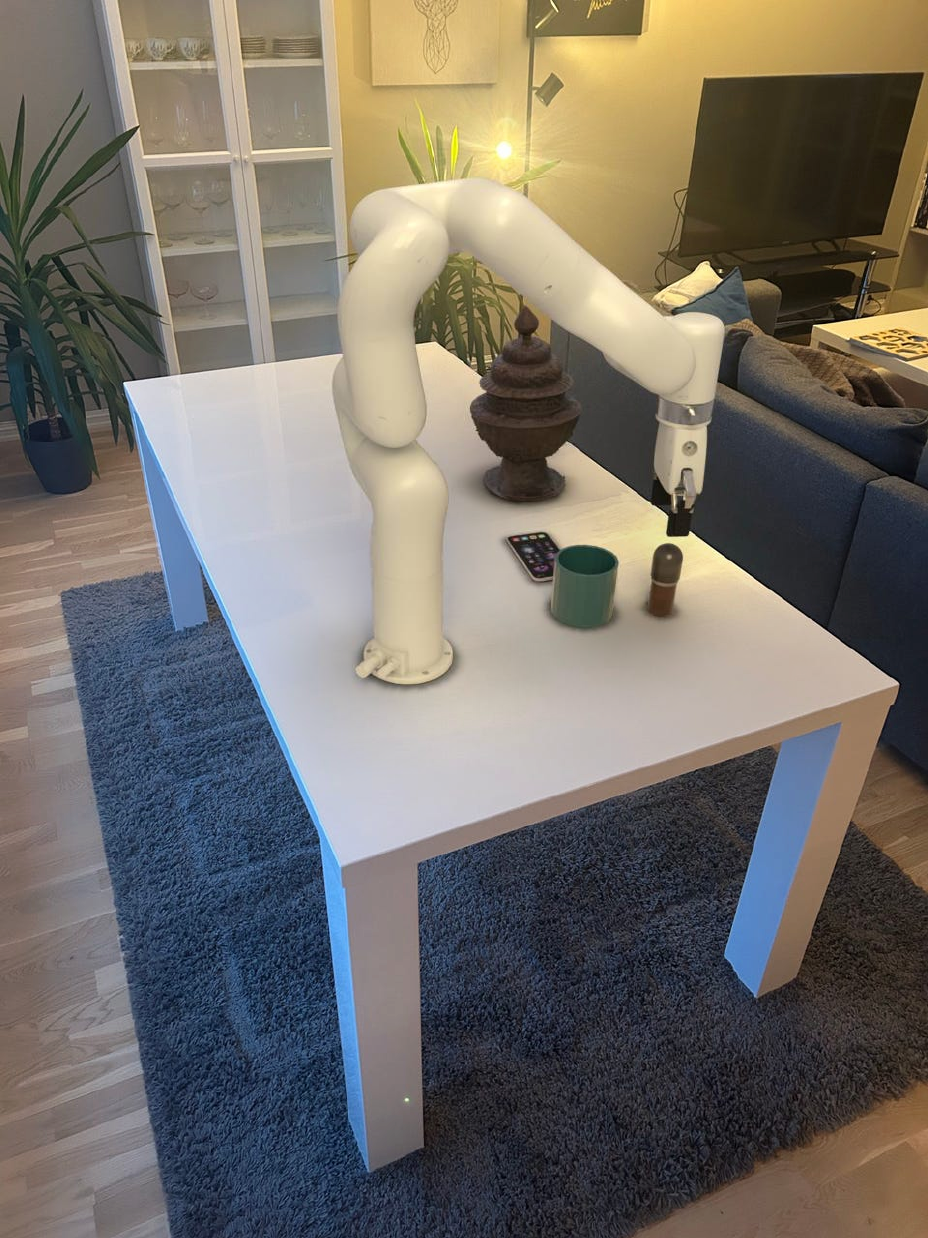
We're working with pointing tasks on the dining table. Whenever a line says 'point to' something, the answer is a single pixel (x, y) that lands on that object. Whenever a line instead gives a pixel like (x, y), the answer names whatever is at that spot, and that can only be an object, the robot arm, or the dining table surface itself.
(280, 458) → the dining table surface
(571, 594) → the cup
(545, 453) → the decorative urn
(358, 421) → the robot arm
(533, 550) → the smartphone
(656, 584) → the brown rounded cylinder
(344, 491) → the dining table surface
